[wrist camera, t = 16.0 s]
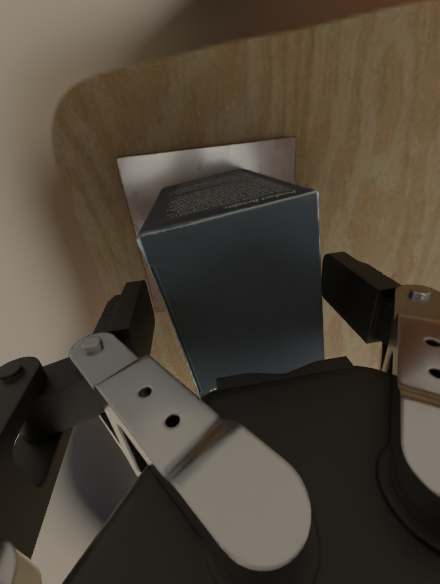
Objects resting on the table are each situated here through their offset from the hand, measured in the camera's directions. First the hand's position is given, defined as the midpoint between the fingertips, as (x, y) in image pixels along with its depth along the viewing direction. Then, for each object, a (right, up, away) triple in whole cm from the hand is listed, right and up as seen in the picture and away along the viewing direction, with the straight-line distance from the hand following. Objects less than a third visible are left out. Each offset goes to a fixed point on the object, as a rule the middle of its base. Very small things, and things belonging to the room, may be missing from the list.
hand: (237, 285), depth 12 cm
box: (-1, +4, +7) cm, 8 cm away
